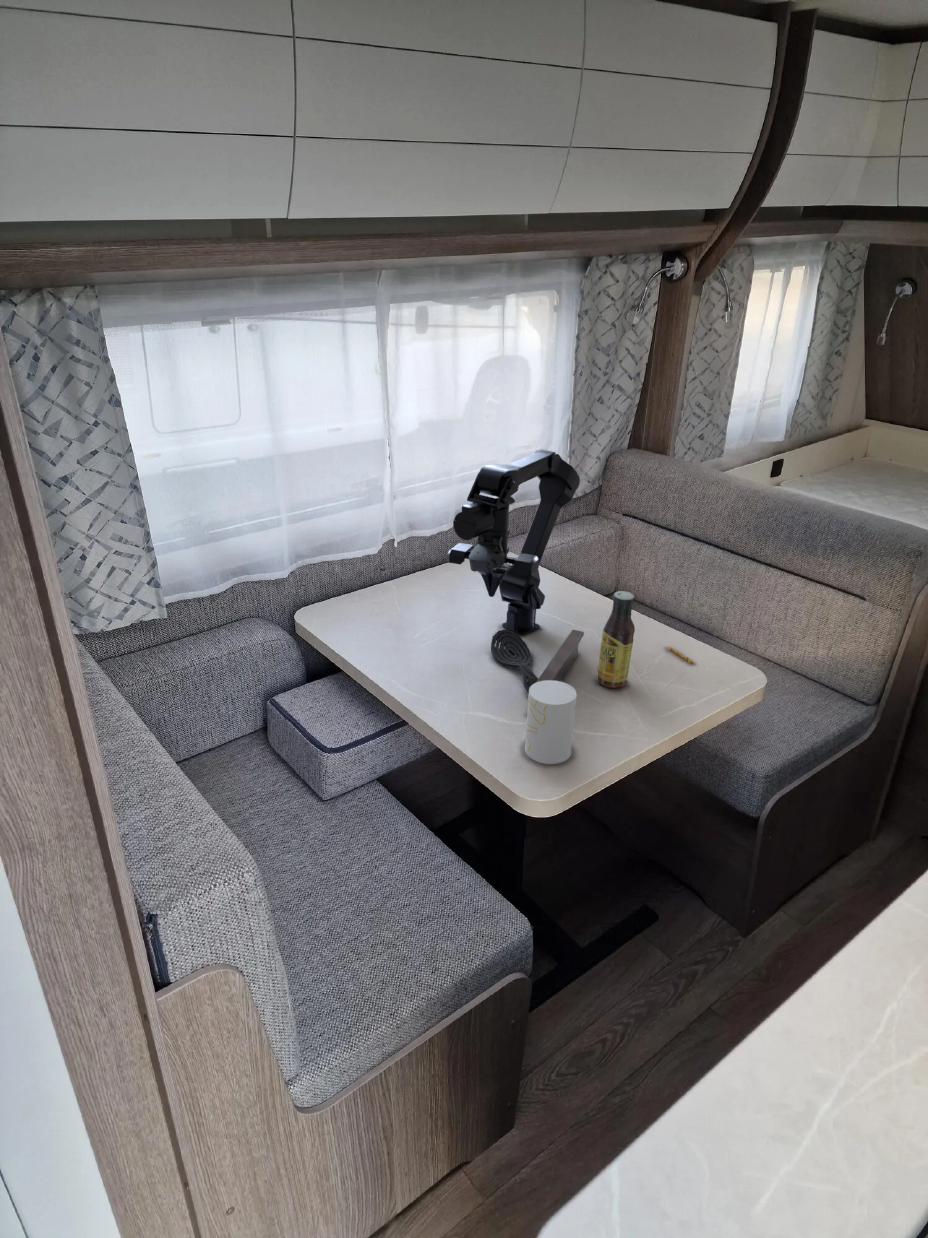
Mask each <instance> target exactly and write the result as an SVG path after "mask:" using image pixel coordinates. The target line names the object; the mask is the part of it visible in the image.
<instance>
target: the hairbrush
mask: <svg viewBox="0 0 928 1238" xmlns="http://www.w3.org/2000/svg"><path fill="white" fill-rule="evenodd" d="M502 628H503V629H501V627H500V628H496V630H498V631H497V632H496V631H494V633H493V635H492V638H491V643H490V653H491V655H492V657H493V659H494V662H496V663H497V664H499V665H500V666H502V667H506V668H510V669H517V670H519V672H520V675H521V677H522V684H523V687H524V689H525V691H526V693H527V695H529V688H530V687H531V686H532V685H533V684H534V683H536V681H537V680H538V678H539V677H537V675H536V674H535V673H534V672H533V670H532V669H531V667H530V665H531V664H532V659H533V656H532V652H531V649H530V647H529V646H528V644H527V642H525V640H524V639H523V638H522V637H521V636H520V634H518V633H516V632H513V631H514V630H513V631H511V630H509V629H507V628H505V627H503V626H502ZM510 629H511V628H510Z"/></svg>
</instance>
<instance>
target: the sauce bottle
mask: <svg viewBox="0 0 928 1238" xmlns="http://www.w3.org/2000/svg"><path fill="white" fill-rule="evenodd" d="M612 602H613V603H612V610H611V613H610V615H609V617H608V618H607V621H606V623H605V625H604V627H603V628H602V633H601V634H602V635H601V642H600V648H599V656H598V664H597V671H596V673H597V677H596V678H597V682H598V683H599V684H600V685H602V686H604V687H606V688H609V689H618V688H622V687H624V686H625V685H626V684H627V681H628V676H629V673H630V672H629V671H630V666H631V665H630V663H631V657H632V651H633V647H634V646H633V645H634V636H635V630H636V628H635V623H634V622H633V619H632V611H633V605H634V603H635V595H634V594H633V593H632V592H629V591H626V590H625V591H624V590H619V591H616V592H614V593H613V596H612Z"/></svg>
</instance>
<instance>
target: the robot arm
mask: <svg viewBox="0 0 928 1238" xmlns="http://www.w3.org/2000/svg"><path fill="white" fill-rule="evenodd" d="M534 478H537V479H538V480H539V483H538V486H537V487H538V493H539V499H540V500H539V503H538V506H537V507H536V510H535V513H534V516H533V519H532V521H531V524H530V527H529V529H528V532H527V535H526V537H525V539H524V542H523V545H522V547H521V549H520V553H519V555H517V557H513V556H511V555H510V556H509V555H508V554H509V553H510V548H509V547H508V543H509V542H508V541H509V540H508V539H509V535H510V534H511V533H510V532H511V529H509V523H510V522H509V521H510V520H509V519H510V505H513V504H514V503H516V499H515V498H514V497H512V496H513V495H514V494H516V493H517V492H518V491H519V486H521V485H522V484H524V483H526V482H528V481H530V480H532V479H534ZM580 483H581V478H580V476H579V474H578V471H577V469H575V468H574V467H573V466H572V465H571V464H569V463H568V462H567V461H565V460H564V459H563V458H562V457H561V456H560V454H558V453H557V452H556V451H552V450H547V449H537V450H535V452H534V453H531V454H529V455H527V456H524V457H522V458H520V459H517V460H515V461H513V462H510V463H507V464H499V463H498V464H496V463H495V464H487V465H484V466H482V467H481V468H480V469H479V472H478V473H477V475H476V477H475V479H474V482H473V484H472V486H471V489H470V491H469V493H468V495H467V498H466V501H467V502H469V503H470V504H464V505H462V506H461V511H460V512H458V513H457V514H456V515H455V516H454V519H453V521H452V527H453V530H454V532H455V534H456V535H457V537H458V538H460V539H461V540H463V541H470V540H474V539H475V538H477V542H476V545H475V546H474V544H470V543H469V544H468V543H464V542H458V543H456V545H454V546H453V547H451V548H450V550H448V553H447V563H449V564H454V565H462V564H463V563H464V562H465V561H466V560H469V567H470V571H472V572H477V573H479V575H480V576H481V578H482V580H483V582H484V585H485V589H486V591H487V595H488V597H490V598H494V597H495V595H496V594H497V593H496V592H497V590H499V593H500V598H501V601H502V602H506V603H508V604H507V611H506V622H502V623H501V624H502V625H501V626H502V628H503V627H505V628H504V629H508V630H510V631H512V632H514V633H516V634H518V635H519V636H520V635H521V636H523V635H526V634H528V633H531V632H533V631H535V630H538V629H541V625H540V624H538V623H537V622H536V620H537V619H536V617H537V610H540V609H542V606H543V605H544V603H545V598H546V595H545V594H544V592H542V590H541V589H540V584H541V575H540V571H539V568H540V563H541V561H542V558H543V556H544V553H545V551H546V548H547V545H548V543H549V541H550V538H551V535H552V532H553V529H554V527H555V525H556V522H557V519H558V516H559V515H560V511H561V509H562V508H563V507H564V506H566V505H567V504H568V503H570V501H571V500H572V499H573V498H574V495H575V493H576V491H577V490H578V488H579V486H580ZM487 495H488V496H487ZM498 588H499V589H498ZM510 628H511V629H510ZM513 630H514V631H513Z"/></svg>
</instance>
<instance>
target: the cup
mask: <svg viewBox="0 0 928 1238" xmlns="http://www.w3.org/2000/svg"><path fill="white" fill-rule="evenodd" d="M577 695H578V694H577V691H576V689H575V688H574V687H573V686H572V685H570V684H569V683H566V682H564V681H554V680H545V681H540V682H537V683H534V684H533V685H532V686H531V687H530V688H529V694H528V698H527V699H528V701H527V702H528V703H527V714H526V727H525V728H526V729H525V745H524V752H525V754H526V756H528V757H529V758H530V759H531V760H532V761H534V762H537V763H540V764H544V765H556V764H557V765H558V764H561V763H563V762H566V761H567V760H568V759H570V757H571V755H572V747H573V746H572V745H573V735H574V725H575V714H576V706H577V705H576V703H577Z"/></svg>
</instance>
